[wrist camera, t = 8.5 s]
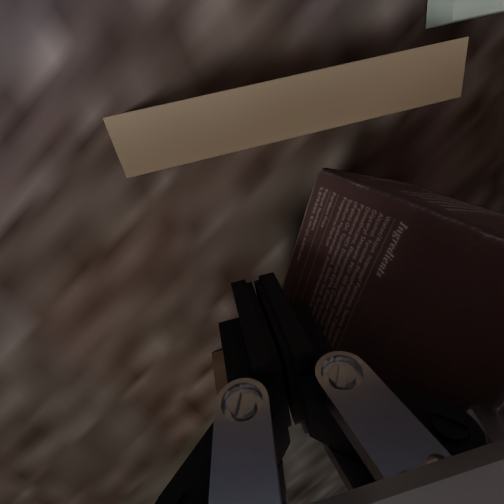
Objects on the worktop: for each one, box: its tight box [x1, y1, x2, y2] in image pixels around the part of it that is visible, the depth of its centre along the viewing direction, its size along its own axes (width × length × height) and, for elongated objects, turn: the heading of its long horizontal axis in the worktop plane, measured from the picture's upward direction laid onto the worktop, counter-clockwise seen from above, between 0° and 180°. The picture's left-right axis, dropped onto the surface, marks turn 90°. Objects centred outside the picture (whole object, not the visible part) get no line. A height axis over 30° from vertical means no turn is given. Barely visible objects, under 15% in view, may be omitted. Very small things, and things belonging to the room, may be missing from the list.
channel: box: [103, 37, 469, 396], centre depth 12 cm, size 13×10×3 cm
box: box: [281, 168, 504, 412], centre depth 10 cm, size 6×6×7 cm
